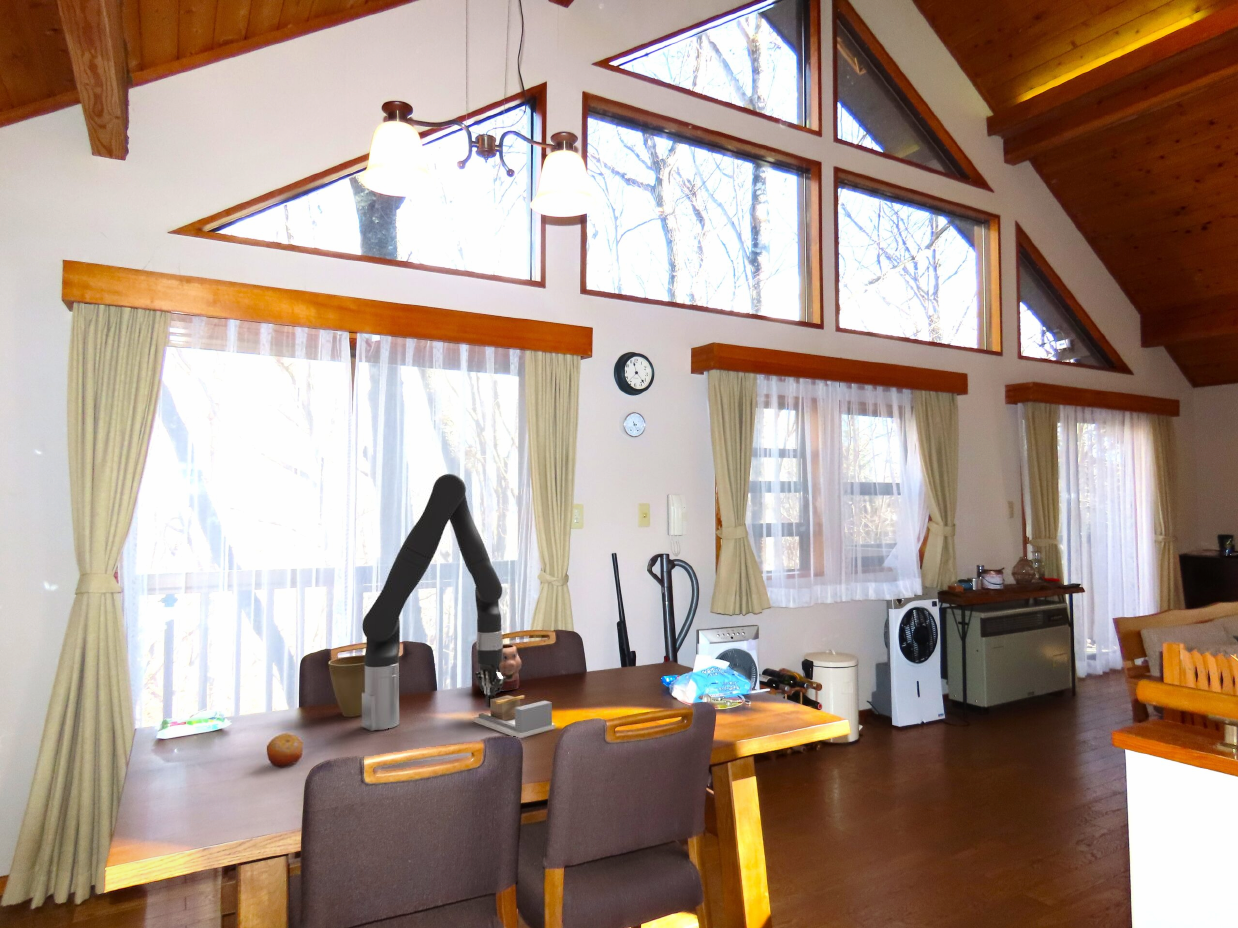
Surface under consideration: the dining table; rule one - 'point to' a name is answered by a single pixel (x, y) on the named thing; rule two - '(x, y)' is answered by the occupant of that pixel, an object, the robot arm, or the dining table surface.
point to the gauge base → (522, 720)
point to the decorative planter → (510, 667)
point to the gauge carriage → (504, 707)
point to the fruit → (284, 750)
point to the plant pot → (348, 683)
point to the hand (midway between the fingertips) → (490, 706)
